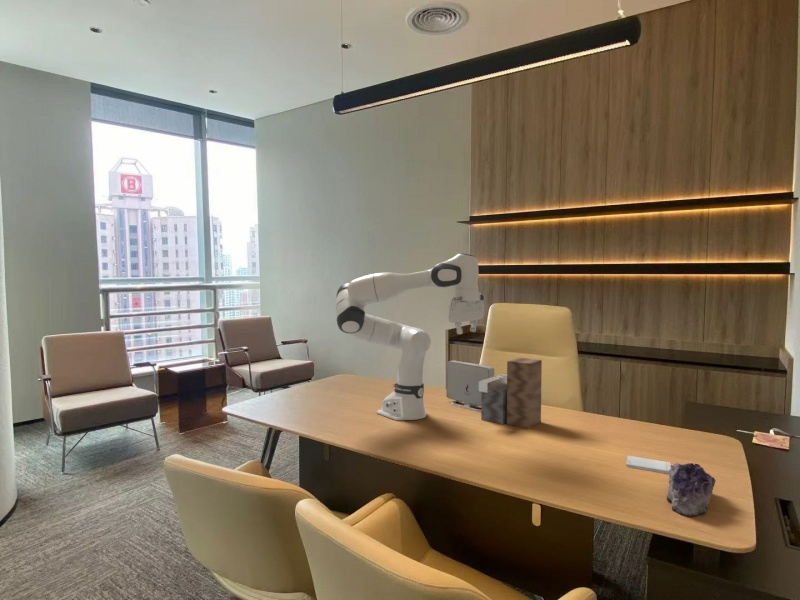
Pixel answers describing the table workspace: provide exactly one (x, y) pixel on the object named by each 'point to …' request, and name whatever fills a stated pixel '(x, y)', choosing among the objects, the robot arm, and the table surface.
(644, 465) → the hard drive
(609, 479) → the table surface
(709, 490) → the geode
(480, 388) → the grey rectangular bar
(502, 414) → the two-tier stand
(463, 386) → the network device
